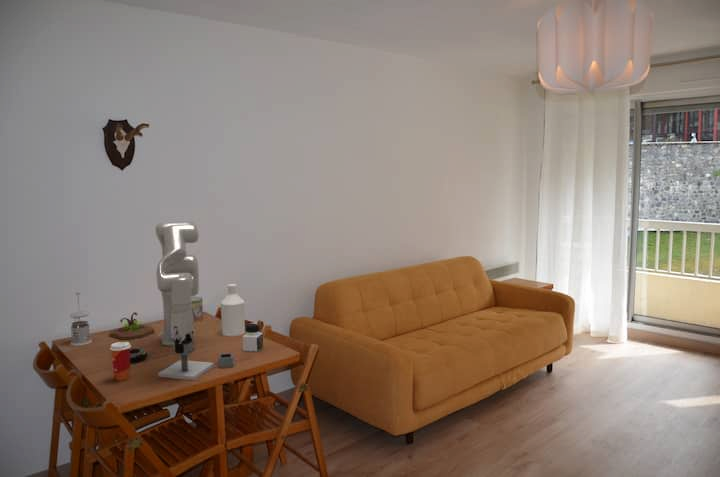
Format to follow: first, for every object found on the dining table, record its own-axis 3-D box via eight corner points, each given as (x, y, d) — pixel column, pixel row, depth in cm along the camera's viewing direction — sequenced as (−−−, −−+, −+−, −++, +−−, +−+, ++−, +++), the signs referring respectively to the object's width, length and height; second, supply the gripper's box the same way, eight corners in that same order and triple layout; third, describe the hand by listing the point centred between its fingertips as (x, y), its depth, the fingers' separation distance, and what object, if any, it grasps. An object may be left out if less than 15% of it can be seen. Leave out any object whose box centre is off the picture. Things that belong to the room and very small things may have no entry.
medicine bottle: (257, 352, 248) (256, 326, 247) (242, 351, 250) (242, 325, 248) (263, 347, 255) (262, 322, 254) (249, 346, 257) (248, 321, 255)
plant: (162, 332, 279) (160, 311, 278) (127, 342, 263) (126, 320, 262) (138, 326, 290) (137, 306, 289) (104, 336, 274) (102, 314, 273)
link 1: (173, 353, 218) (172, 344, 217) (181, 349, 224) (181, 339, 223) (186, 355, 216) (186, 345, 216) (194, 350, 222) (194, 340, 222)
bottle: (217, 333, 277) (215, 285, 274) (236, 328, 286) (234, 281, 283) (230, 337, 270) (229, 288, 267) (250, 332, 278) (248, 284, 275)
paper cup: (115, 374, 221) (113, 341, 219) (135, 374, 221) (133, 340, 220) (108, 382, 213) (106, 347, 211) (128, 381, 213) (126, 347, 212)
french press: (72, 346, 256) (69, 295, 253) (66, 341, 265) (63, 291, 261) (95, 342, 262) (91, 292, 259) (88, 337, 271) (85, 288, 268)
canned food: (192, 323, 295) (191, 302, 294) (177, 320, 301) (176, 299, 299) (207, 318, 305) (206, 297, 303) (193, 316, 310) (192, 295, 309)
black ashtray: (124, 355, 244) (124, 347, 244) (151, 355, 245) (150, 346, 244) (114, 364, 233) (114, 355, 232) (142, 364, 233) (142, 355, 233)
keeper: (158, 376, 219) (157, 353, 217) (180, 363, 234) (179, 341, 233) (193, 380, 215) (192, 357, 213) (214, 366, 230) (213, 344, 229)
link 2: (218, 367, 228) (218, 358, 228) (219, 362, 234) (219, 353, 234) (233, 366, 229) (232, 357, 229) (233, 361, 235) (233, 353, 235)
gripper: (185, 301, 227) (187, 343, 229) (160, 311, 210) (163, 356, 213) (201, 302, 225) (203, 344, 227) (178, 312, 208) (180, 358, 211)
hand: (183, 350), depth 220 cm, fingers closed on link 1, 6 cm apart
